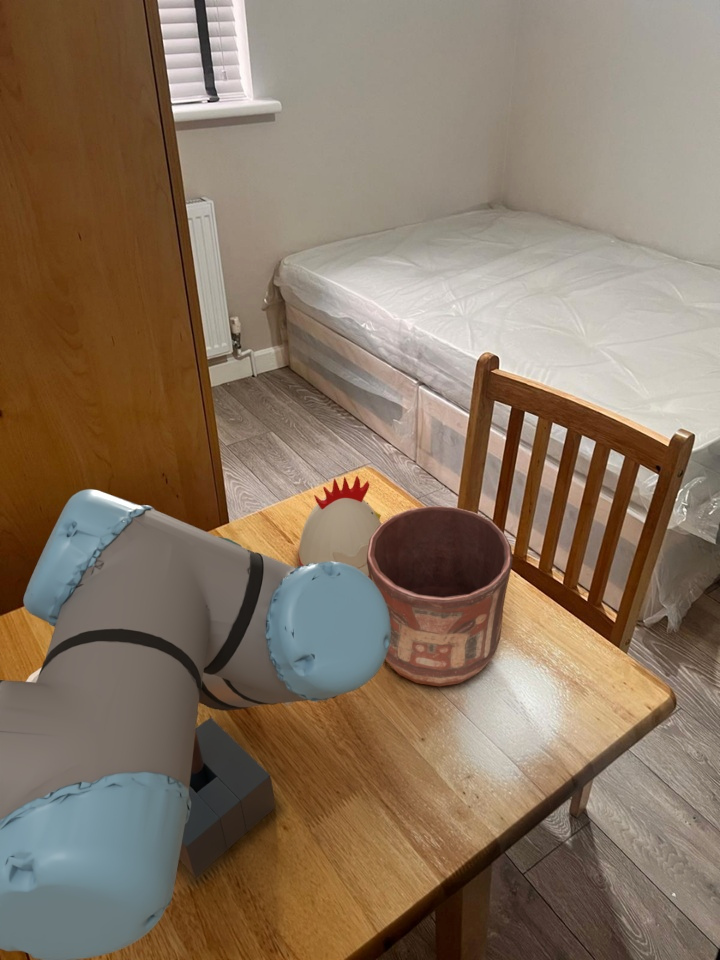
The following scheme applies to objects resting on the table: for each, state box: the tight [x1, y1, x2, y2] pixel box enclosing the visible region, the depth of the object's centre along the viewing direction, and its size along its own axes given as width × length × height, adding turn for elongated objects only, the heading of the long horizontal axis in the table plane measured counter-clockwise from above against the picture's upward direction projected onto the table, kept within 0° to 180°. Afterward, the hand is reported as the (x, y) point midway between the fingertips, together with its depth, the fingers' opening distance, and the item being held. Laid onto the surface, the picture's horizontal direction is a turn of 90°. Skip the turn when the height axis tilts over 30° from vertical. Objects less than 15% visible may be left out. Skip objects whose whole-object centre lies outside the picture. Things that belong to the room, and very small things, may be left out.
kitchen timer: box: [298, 475, 382, 578], centre depth 109 cm, size 14×14×15 cm
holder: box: [179, 717, 276, 879], centre depth 78 cm, size 11×11×6 cm
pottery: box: [367, 505, 514, 687], centre depth 92 cm, size 18×18×18 cm
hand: (156, 680), depth 72 cm, fingers closed on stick, 2 cm apart
